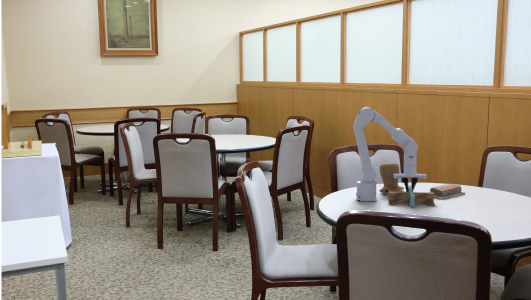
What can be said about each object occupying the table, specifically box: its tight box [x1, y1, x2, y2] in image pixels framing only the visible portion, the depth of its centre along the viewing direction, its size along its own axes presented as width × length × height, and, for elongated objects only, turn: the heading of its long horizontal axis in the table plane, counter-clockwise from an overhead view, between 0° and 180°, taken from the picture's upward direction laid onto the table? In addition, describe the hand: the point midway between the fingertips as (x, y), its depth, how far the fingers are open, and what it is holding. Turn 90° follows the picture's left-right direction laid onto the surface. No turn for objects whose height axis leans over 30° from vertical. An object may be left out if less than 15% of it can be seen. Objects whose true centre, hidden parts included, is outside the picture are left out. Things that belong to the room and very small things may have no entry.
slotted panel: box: [408, 184, 415, 208], centre depth 216 cm, size 16×2×5 cm, turn 169°
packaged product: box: [427, 183, 466, 201], centre depth 230 cm, size 18×5×10 cm
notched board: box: [387, 191, 436, 207], centre depth 217 cm, size 20×8×5 cm, turn 79°
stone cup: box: [379, 162, 405, 196], centre depth 237 cm, size 15×12×15 cm
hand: (409, 193), depth 222 cm, fingers closed on slotted panel, 1 cm apart
